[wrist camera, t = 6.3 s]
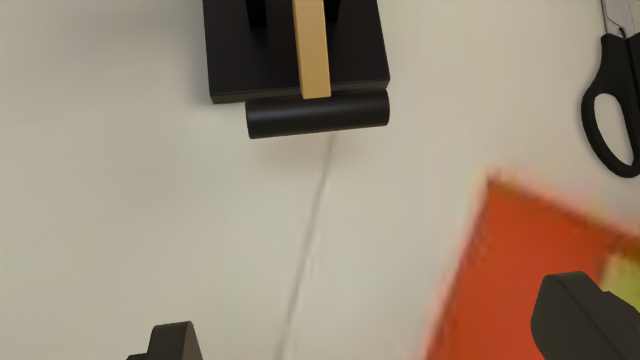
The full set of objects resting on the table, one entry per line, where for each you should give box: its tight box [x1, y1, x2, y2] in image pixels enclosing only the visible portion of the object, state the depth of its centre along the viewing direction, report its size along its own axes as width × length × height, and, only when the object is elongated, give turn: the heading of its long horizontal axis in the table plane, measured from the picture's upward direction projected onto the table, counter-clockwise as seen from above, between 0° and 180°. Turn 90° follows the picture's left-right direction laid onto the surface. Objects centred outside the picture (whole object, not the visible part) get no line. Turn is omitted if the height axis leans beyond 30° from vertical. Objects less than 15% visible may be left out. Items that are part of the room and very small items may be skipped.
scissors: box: [581, 0, 640, 178], centre depth 28 cm, size 7×1×20 cm
